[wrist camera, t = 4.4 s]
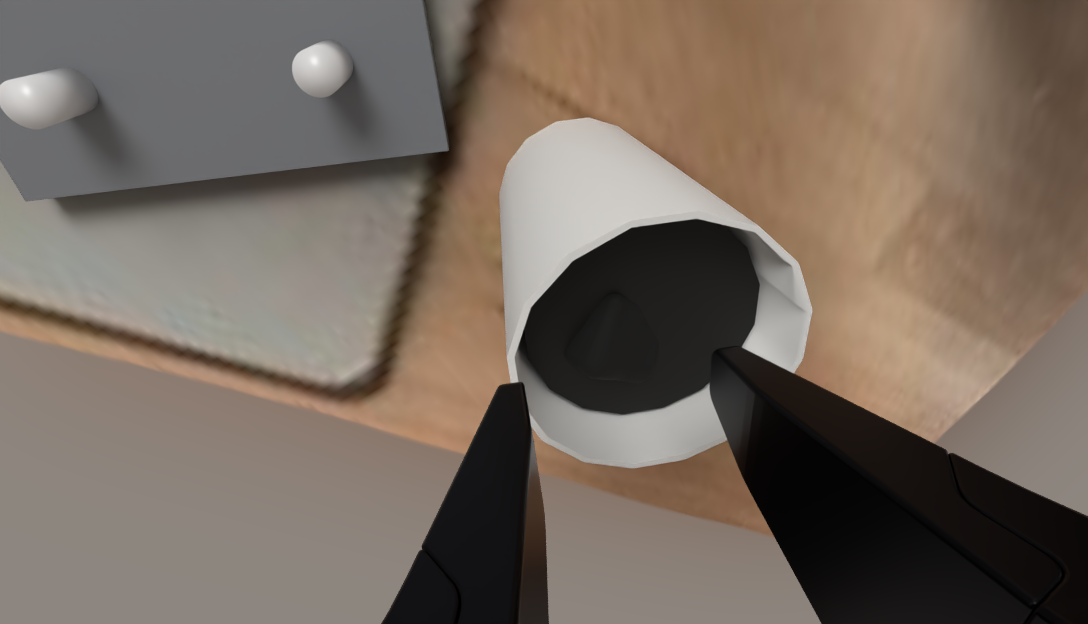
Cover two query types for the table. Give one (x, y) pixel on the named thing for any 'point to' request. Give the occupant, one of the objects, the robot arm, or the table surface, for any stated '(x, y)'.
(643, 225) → the white cup
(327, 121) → the pin tray
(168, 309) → the table surface
